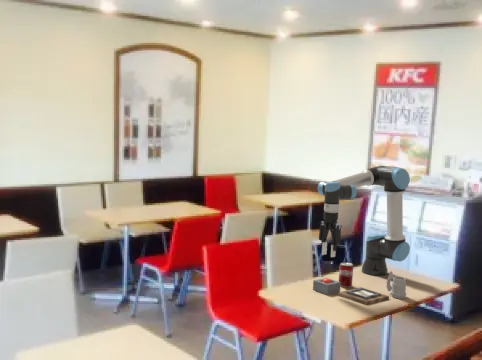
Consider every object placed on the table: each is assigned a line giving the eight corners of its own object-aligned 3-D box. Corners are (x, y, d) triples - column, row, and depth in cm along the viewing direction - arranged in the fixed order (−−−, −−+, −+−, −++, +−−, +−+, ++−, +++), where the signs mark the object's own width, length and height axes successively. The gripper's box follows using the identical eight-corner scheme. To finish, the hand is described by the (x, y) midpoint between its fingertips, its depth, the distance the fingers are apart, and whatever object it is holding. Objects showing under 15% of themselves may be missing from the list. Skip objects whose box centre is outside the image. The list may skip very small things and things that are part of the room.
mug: (399, 299, 298) (400, 276, 296) (381, 293, 307) (382, 271, 306) (409, 297, 302) (410, 274, 301) (391, 291, 312) (392, 269, 310)
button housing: (325, 286, 315) (326, 277, 315) (340, 291, 307) (340, 282, 307) (312, 289, 309) (313, 280, 308) (327, 294, 301) (327, 285, 301)
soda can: (351, 288, 315) (353, 266, 313) (338, 286, 316) (339, 265, 315) (352, 284, 322) (353, 263, 321) (338, 283, 323) (340, 262, 322)
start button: (326, 286, 311) (326, 277, 311) (333, 289, 308) (333, 279, 307) (319, 288, 308) (320, 279, 308) (326, 290, 304) (327, 281, 304)
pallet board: (360, 290, 312) (361, 285, 312) (388, 298, 298) (389, 294, 298) (338, 295, 300) (338, 290, 300) (366, 304, 287) (366, 299, 286)
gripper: (313, 209, 308) (310, 252, 311) (339, 214, 294) (337, 260, 297) (322, 208, 313) (320, 251, 316) (349, 213, 299) (346, 258, 301)
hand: (328, 255), depth 306 cm, fingers open, 5 cm apart
